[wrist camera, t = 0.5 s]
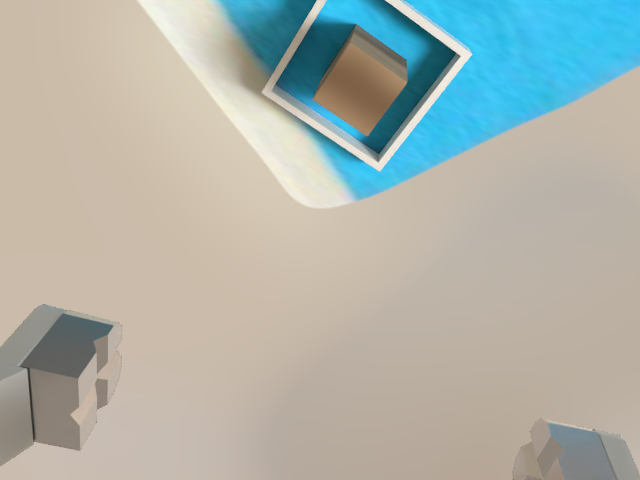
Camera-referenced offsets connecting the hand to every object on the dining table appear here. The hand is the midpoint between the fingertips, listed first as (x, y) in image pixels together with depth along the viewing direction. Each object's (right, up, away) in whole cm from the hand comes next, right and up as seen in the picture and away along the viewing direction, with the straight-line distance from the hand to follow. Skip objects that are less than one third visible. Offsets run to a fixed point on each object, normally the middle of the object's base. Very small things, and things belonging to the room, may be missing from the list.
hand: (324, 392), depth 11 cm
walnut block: (+4, +17, +37) cm, 41 cm away
